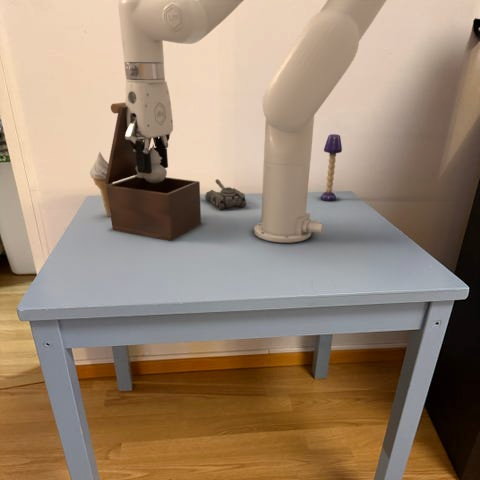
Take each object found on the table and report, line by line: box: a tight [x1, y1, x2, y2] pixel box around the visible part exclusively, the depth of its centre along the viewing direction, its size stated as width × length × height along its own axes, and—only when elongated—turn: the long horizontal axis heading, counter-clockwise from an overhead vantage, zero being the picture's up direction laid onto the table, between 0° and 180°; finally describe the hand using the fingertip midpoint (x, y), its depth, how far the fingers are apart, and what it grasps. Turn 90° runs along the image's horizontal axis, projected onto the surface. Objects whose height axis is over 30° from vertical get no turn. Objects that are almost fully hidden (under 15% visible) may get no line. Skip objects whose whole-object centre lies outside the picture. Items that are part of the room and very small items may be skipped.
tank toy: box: [204, 179, 247, 211], centre depth 119 cm, size 12×10×5 cm
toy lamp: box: [320, 133, 343, 202], centre depth 121 cm, size 5×5×17 cm
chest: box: [107, 176, 202, 242], centre depth 101 cm, size 16×13×10 cm
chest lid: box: [105, 101, 153, 184], centre depth 96 cm, size 16×13×5 cm
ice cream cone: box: [89, 151, 114, 217], centre depth 106 cm, size 6×6×15 cm
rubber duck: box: [135, 143, 168, 183], centre depth 96 cm, size 5×7×8 cm
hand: (153, 169), depth 97 cm, fingers closed on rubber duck, 5 cm apart
